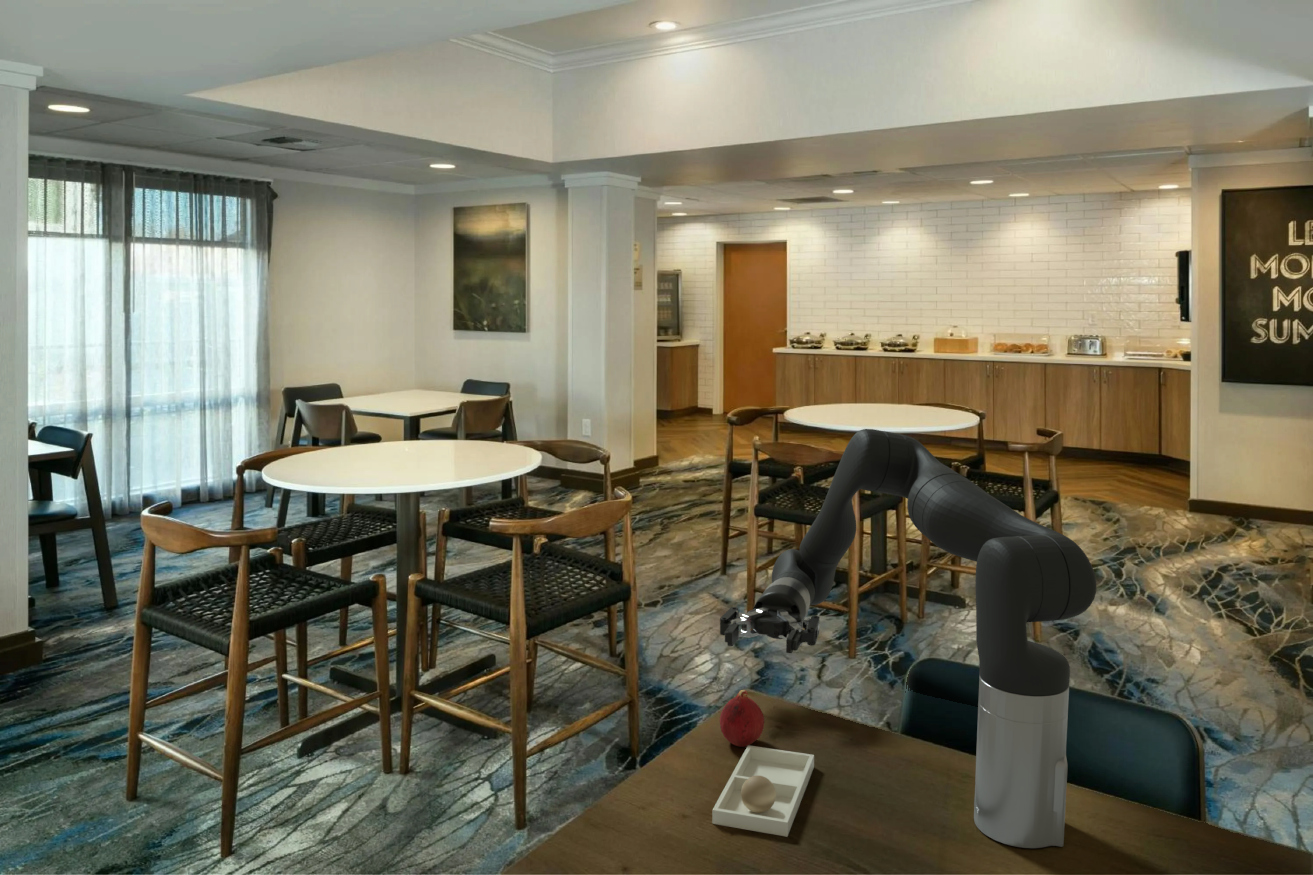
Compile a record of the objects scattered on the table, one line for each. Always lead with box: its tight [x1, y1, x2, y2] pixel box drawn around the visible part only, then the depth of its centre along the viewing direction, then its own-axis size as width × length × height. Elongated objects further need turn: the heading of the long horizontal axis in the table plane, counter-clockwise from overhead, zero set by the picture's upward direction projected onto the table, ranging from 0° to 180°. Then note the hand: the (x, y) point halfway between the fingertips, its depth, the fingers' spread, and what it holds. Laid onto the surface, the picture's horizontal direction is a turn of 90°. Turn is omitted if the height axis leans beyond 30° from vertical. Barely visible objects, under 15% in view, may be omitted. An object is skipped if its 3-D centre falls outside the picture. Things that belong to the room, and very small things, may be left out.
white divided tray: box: [711, 745, 815, 838], centre depth 113 cm, size 8×16×2 cm, turn 161°
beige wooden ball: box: [741, 776, 776, 813], centre depth 109 cm, size 4×4×4 cm
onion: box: [719, 689, 765, 748], centre depth 126 cm, size 6×6×8 cm
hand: (759, 643), depth 135 cm, fingers open, 8 cm apart
